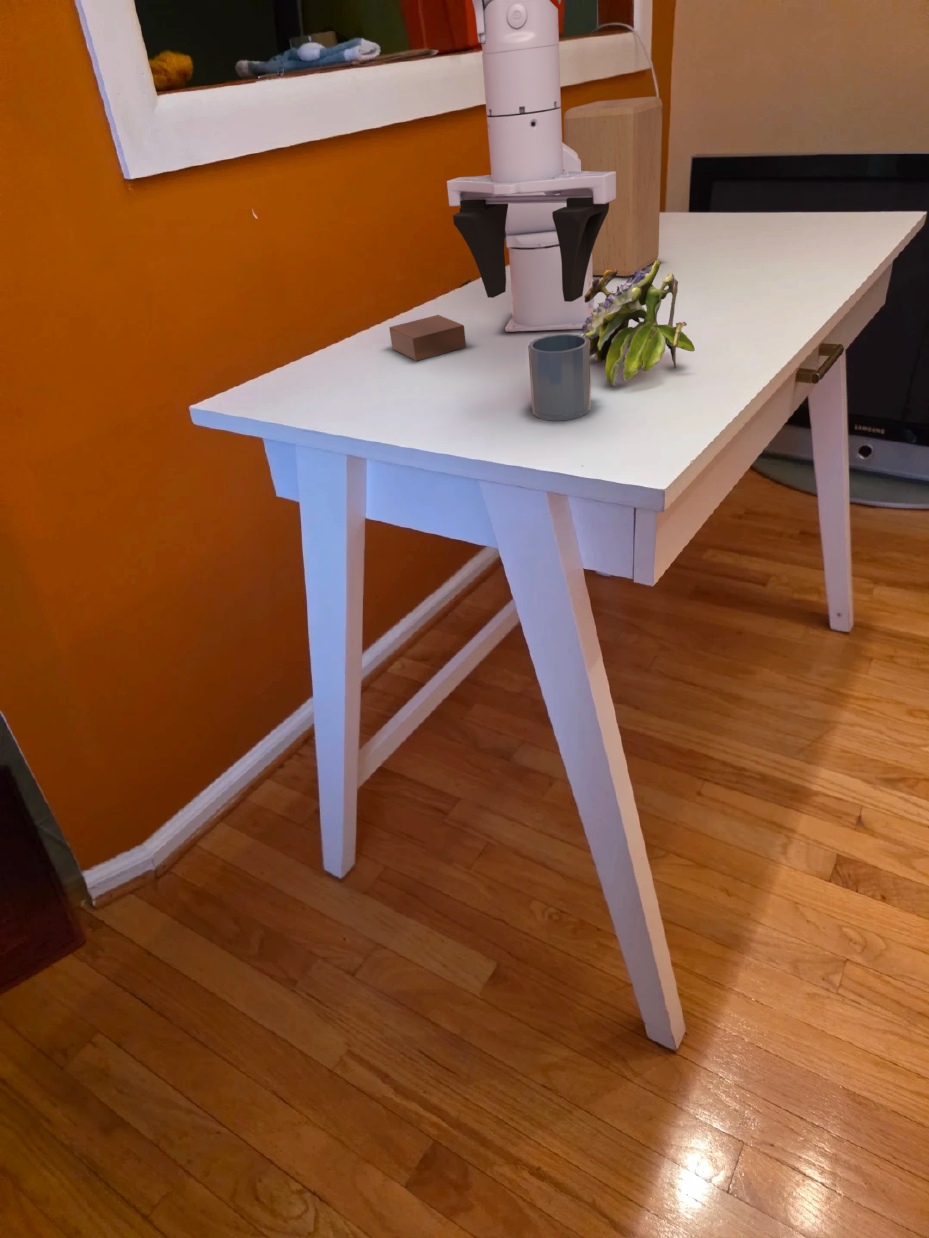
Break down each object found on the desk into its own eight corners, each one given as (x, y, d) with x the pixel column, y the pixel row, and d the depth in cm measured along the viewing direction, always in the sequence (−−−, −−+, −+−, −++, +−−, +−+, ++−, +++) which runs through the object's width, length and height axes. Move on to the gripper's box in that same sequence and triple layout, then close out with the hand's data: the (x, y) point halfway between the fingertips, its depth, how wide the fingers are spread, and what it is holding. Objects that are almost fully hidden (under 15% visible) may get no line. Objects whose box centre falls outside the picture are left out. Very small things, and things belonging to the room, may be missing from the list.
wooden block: (660, 260, 116) (665, 95, 105) (633, 278, 109) (634, 104, 98) (596, 259, 121) (594, 101, 109) (566, 276, 114) (560, 110, 103)
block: (440, 336, 97) (438, 314, 95) (466, 347, 92) (464, 325, 91) (392, 349, 95) (388, 327, 93) (415, 361, 90) (412, 338, 89)
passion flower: (603, 413, 86) (603, 300, 86) (708, 399, 81) (708, 278, 81) (563, 385, 76) (562, 257, 76) (680, 366, 71) (679, 230, 71)
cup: (593, 398, 75) (592, 332, 72) (587, 420, 71) (585, 351, 68) (537, 399, 76) (533, 335, 73) (528, 421, 72) (523, 353, 69)
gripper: (417, 125, 64) (439, 305, 71) (584, 111, 56) (588, 314, 64) (467, 114, 68) (482, 284, 76) (628, 100, 61) (626, 290, 68)
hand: (533, 296), depth 70 cm, fingers open, 7 cm apart
